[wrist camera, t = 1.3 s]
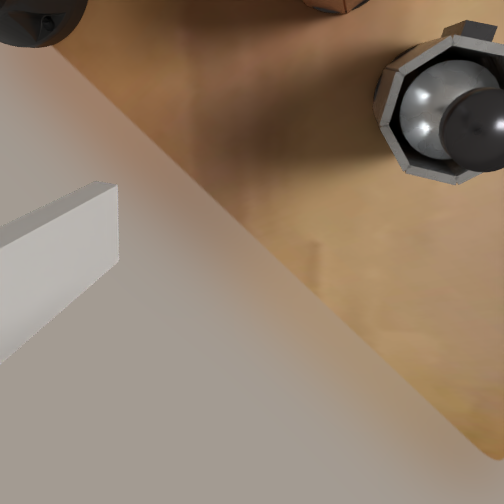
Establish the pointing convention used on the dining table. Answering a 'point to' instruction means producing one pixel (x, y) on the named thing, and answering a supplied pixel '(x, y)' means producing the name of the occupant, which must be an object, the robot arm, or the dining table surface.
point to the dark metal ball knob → (456, 115)
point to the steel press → (413, 64)
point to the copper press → (335, 5)
